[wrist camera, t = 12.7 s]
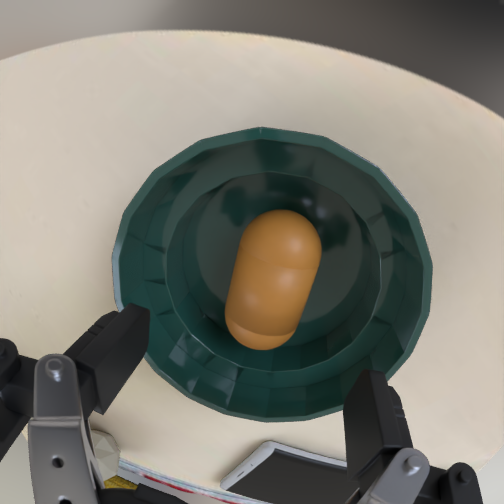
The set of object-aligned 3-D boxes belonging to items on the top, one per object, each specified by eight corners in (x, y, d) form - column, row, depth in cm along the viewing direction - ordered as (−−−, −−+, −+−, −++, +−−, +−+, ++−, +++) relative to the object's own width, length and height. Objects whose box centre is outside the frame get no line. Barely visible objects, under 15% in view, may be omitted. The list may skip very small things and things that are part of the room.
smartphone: (379, 510, 30) (380, 519, 28) (219, 478, 30) (216, 489, 28) (442, 472, 25) (445, 481, 24) (267, 435, 25) (265, 448, 23)
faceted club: (127, 467, 32) (6, 376, 33) (138, 434, 31) (7, 336, 32) (101, 504, 23) (-29, 394, 24) (108, 475, 22) (-33, 352, 24)
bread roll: (256, 194, 18) (241, 208, 13) (328, 214, 17) (336, 234, 13) (228, 314, 20) (210, 352, 16) (289, 331, 20) (284, 373, 16)
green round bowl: (271, 83, 16) (257, 52, 10) (438, 267, 18) (479, 310, 12) (122, 260, 21) (73, 294, 15) (274, 392, 23) (265, 449, 17)
